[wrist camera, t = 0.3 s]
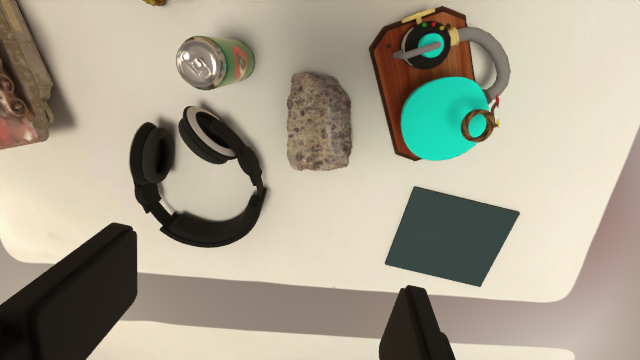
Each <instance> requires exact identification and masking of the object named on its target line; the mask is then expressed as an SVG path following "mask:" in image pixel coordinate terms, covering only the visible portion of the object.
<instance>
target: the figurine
mask: <svg viewBox="0 0 640 360" xmlns="http://www.w3.org/2000/svg"><path fill="white" fill-rule="evenodd" d="M143 1H145V2H146V3H147V4H151V5H153V6H155V5H158V6H161V5H162V4H163V3H164V1H165V0H143Z"/></svg>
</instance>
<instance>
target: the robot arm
mask: <svg viewBox="0 0 640 360" xmlns="http://www.w3.org/2000/svg"><path fill="white" fill-rule="evenodd" d="M136 296H137V233H136V232H135V231H133V228H132V227H131V226H128V225H124V224H119V223H111V224H109V225H108V226H107V227H105V228H104V229H103V230H101V231H100V232H99V233H97V234H96V235H94V236H93V237H92V238H90V239H89V240H88V241H86V242H85V243H84V244H82V245H81V246H80V247H78V248H77V249H76V250H74V251H73V252H71V253H70V254H69V255H67V256H66V257H65V258H63V259H62V260H61V261H59V262H58V263H57V264H55V265H54V266H53V267H51V268H50V269H49V270H47V271H46V272H44V273H43V274H42V275H40V276H39V277H38V278H36V279H35V280H34V281H32V282H31V283H30V284H28V285H27V286H26V287H24V288H23V289H22V290H20V291H19V292H17V293H16V294H15V295H13V296H12V297H11V298H9V299H8V300H7V301H6V302H4V303H3V304H1V305H0V360H86V359H87V357H88V356H89V355H90V354H91V353H92V351H93V350H94V349H95V348H96V347H97V345H98V344H99V343H100V342H101V341H102V339H103V338H104V337H105V336H106V335H107V333H108V332H109V331H110V330H111V329H112V327H113V326H114V325H115V324H116V323H117V321H118V320H119V319H120V318H121V317H122V315H123V314H124V313H125V311H127V309H128V308H129V307H130V306H131V305H132V303H133V302H134V300H135V298H136ZM379 358H380V360H456V359H455V357H454V354H453V351H452V349H451V346H450V343H449V340H448V338H447V336H446V335H445V334H444V333H442V332H440V329H439V326H438V323H437V320H436V317H435V315H434V312H433V309H432V306H431V303H430V301H429V298H428V295H427V292H426V290H425V289H424V288H421V287H416V286H411V285H407V287H406V288H401V289H400V292H399V294H398V297H397V300H396V302H395V305H394V307H393V310H392V313H391V316H390V318H389V321H388V323H387V326H386V328H385V331H384V334H383V337H382V339H381V342H380V345H379Z"/></svg>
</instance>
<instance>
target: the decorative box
mask: <svg viewBox="0 0 640 360" xmlns="http://www.w3.org/2000/svg"><path fill="white" fill-rule="evenodd" d="M52 86H53V83H52V80H51V78H50V76H49V74H48V72H47V69H46V67H45V65H44V63H43V61H42V59H41V56H40V54H39V52H38V50H37V48H36V46H35V43H34V41H33V39H32V37H31V35H30V32H29V30H28V28H27V25H26V23H25V21H24V19H23V16H22V13H21V12H20V10H19V7H18V5H17V3H16V1H15V0H0V150H1V149H6V148H11V147H16V146H21V145H28V144H32V143H37V142H43V141H46V140H47V139H48V137H49V130H48V125H51V124H52V123H53V119H54V118H53V115H52V112H51V110H50V108H49V106H48V104H47V100H49V98H50V90H51V87H52Z"/></svg>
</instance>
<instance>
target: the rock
mask: <svg viewBox="0 0 640 360" xmlns="http://www.w3.org/2000/svg"><path fill="white" fill-rule="evenodd" d="M291 82H292V85H291V94H290V95H289V97H288V101H287V106H288V109H289V111H288V113H289V115H288V120H287V131H288V138H289V139H288V142H287V147H288V148H287V156H288V160H289V162H290V165H291V167H292V168H293V169H295V170H300V171H302V170H304V169H309V170H314V171H323V170H326V171H329V170H333V169H337V168H343V167H347V165H348V162H349V156H350V154H351V148H352V142H351V125H350V108H351V106H350V103H351V102H350V100H349V97H348V96H347V95H346V93H345V92H343V90H342V89H341V88H340V86H339V83H338V81H337V80H336V79H335V78H334V77H323V76H314V75H313V74H311V73H303V74H297V75H296V74H294V75H293V76H292V80H291Z"/></svg>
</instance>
